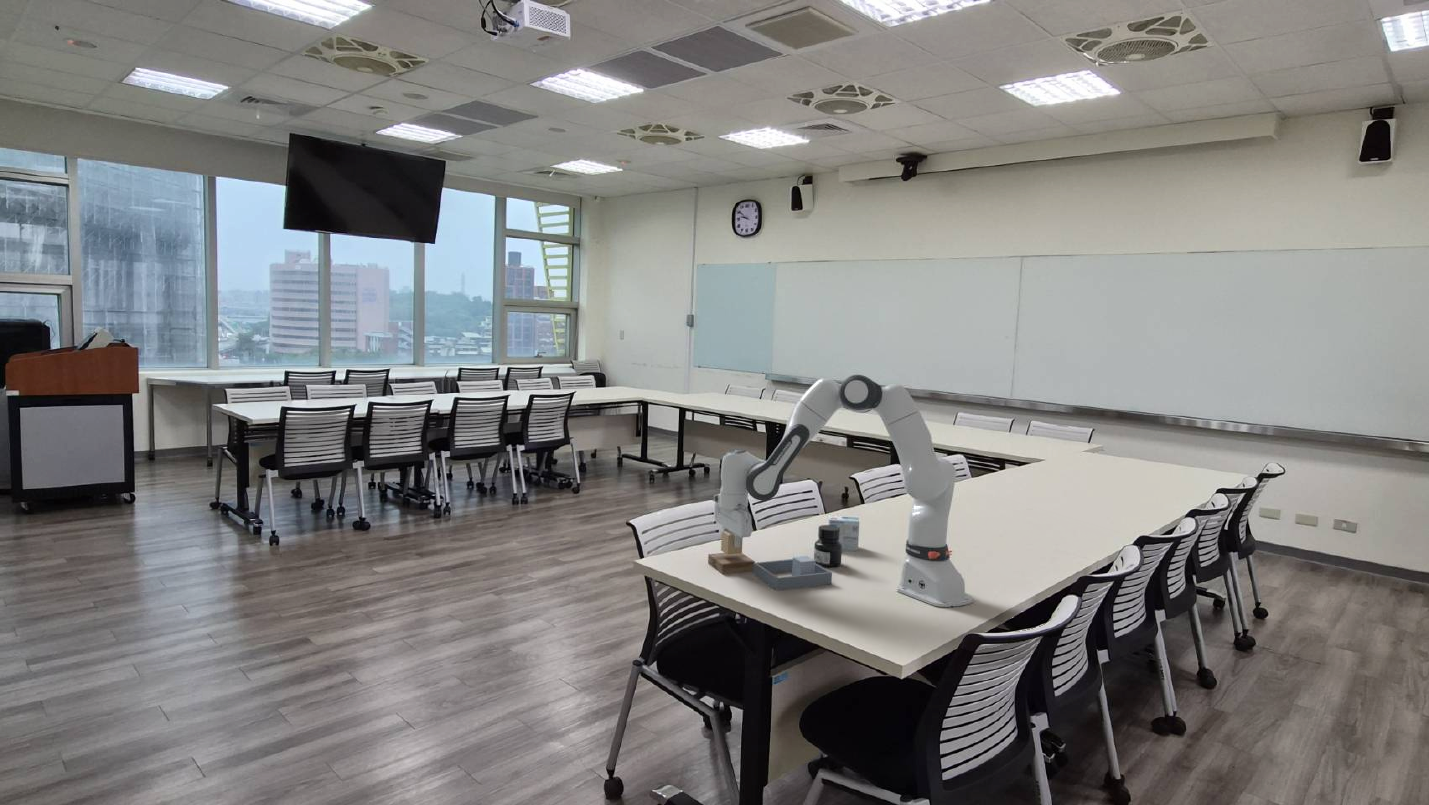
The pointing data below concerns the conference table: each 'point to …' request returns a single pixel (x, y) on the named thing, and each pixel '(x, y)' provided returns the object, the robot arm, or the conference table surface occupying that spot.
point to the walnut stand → (730, 562)
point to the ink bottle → (828, 546)
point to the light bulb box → (846, 531)
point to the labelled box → (729, 543)
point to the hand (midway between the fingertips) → (731, 543)
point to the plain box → (803, 566)
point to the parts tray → (769, 567)
